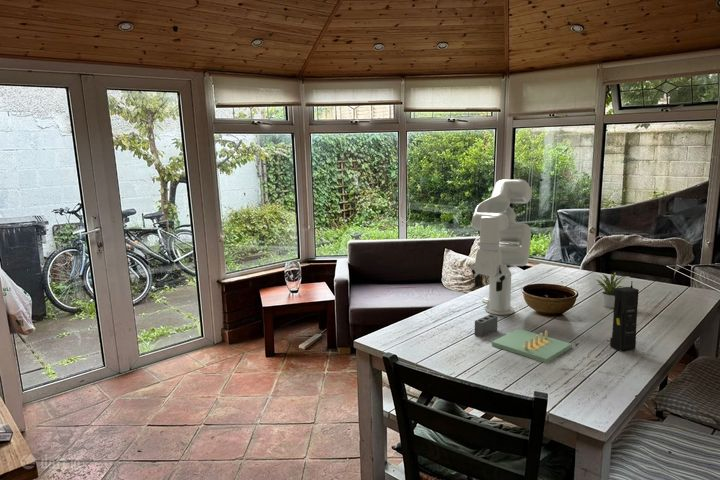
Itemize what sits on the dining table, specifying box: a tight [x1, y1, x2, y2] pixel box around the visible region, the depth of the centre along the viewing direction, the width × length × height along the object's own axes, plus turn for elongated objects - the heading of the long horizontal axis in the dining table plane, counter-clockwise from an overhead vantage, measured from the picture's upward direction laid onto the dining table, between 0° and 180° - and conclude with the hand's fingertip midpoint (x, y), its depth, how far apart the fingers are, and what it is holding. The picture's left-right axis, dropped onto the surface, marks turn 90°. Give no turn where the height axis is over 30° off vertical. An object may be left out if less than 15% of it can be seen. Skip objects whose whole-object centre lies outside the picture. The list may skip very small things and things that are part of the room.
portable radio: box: [609, 281, 640, 352], centre depth 175 cm, size 8×6×25 cm
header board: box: [491, 328, 573, 364], centre depth 180 cm, size 22×19×5 cm
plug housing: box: [474, 313, 499, 338], centre depth 195 cm, size 4×11×6 cm, turn 131°
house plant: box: [594, 272, 631, 309], centre depth 222 cm, size 14×14×16 cm
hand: (488, 288), depth 192 cm, fingers open, 9 cm apart
